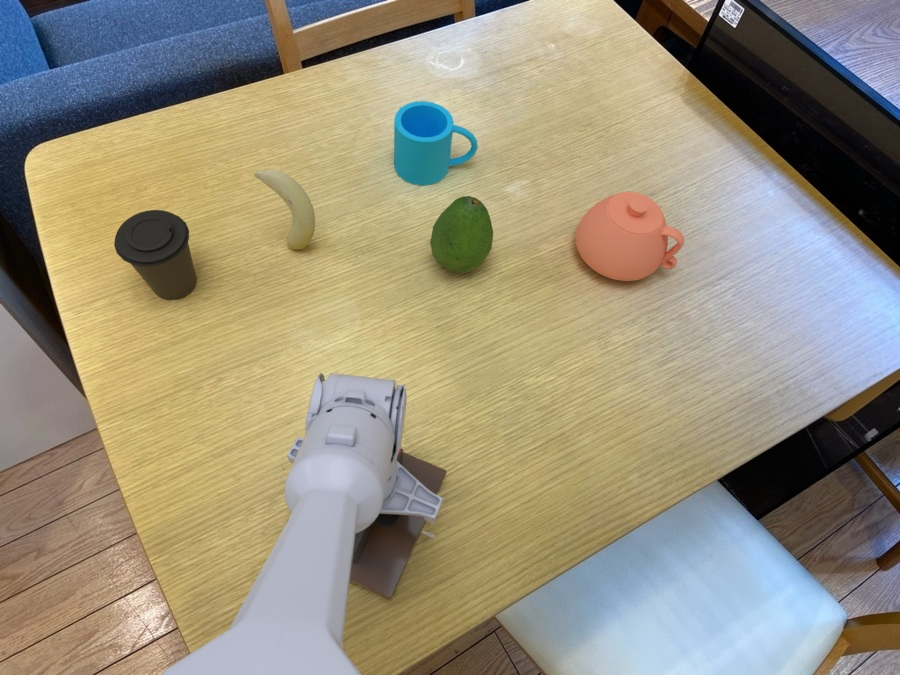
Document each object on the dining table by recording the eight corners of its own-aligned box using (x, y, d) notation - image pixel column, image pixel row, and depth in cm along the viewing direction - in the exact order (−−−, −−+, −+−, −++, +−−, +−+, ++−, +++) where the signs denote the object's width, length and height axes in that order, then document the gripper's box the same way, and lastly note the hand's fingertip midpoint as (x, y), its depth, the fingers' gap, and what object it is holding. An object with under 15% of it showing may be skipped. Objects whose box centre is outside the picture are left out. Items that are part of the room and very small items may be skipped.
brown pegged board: (402, 614, 62) (403, 611, 60) (266, 550, 64) (263, 545, 62) (460, 477, 69) (462, 471, 67) (337, 423, 71) (336, 416, 69)
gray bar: (356, 564, 62) (354, 553, 57) (329, 552, 62) (324, 540, 58) (402, 465, 67) (403, 448, 63) (377, 454, 68) (376, 436, 63)
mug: (393, 184, 90) (393, 140, 83) (394, 144, 95) (395, 99, 88) (475, 187, 92) (482, 144, 84) (473, 148, 96) (480, 104, 89)
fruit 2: (481, 291, 82) (495, 232, 72) (422, 279, 82) (428, 218, 72) (491, 246, 86) (505, 183, 76) (435, 234, 86) (442, 170, 76)
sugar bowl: (589, 208, 91) (611, 155, 83) (680, 248, 89) (712, 198, 80) (557, 265, 86) (576, 215, 77) (652, 310, 83) (684, 263, 74)
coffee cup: (219, 289, 79) (199, 239, 70) (157, 320, 76) (128, 271, 67) (190, 247, 82) (167, 193, 73) (129, 275, 79) (98, 222, 70)
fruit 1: (320, 258, 81) (330, 245, 82) (291, 177, 72) (303, 165, 74) (283, 252, 83) (294, 240, 84) (250, 172, 74) (263, 160, 76)
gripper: (460, 451, 53) (447, 496, 65) (307, 388, 55) (321, 443, 67) (428, 528, 50) (420, 562, 62) (266, 458, 52) (289, 504, 63)
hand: (367, 504), depth 64 cm, fingers closed on gray bar, 3 cm apart
